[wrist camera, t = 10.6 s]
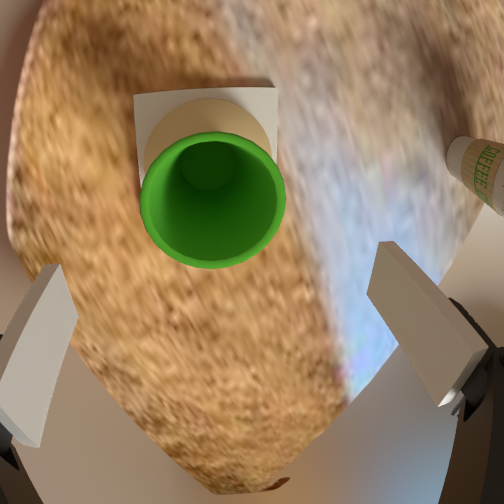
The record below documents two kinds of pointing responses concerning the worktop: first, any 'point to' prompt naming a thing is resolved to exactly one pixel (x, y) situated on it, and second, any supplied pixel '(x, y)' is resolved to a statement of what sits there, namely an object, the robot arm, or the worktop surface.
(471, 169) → the coffee cup
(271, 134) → the domed square tile
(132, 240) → the worktop surface
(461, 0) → the worktop surface
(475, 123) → the worktop surface
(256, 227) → the cup
